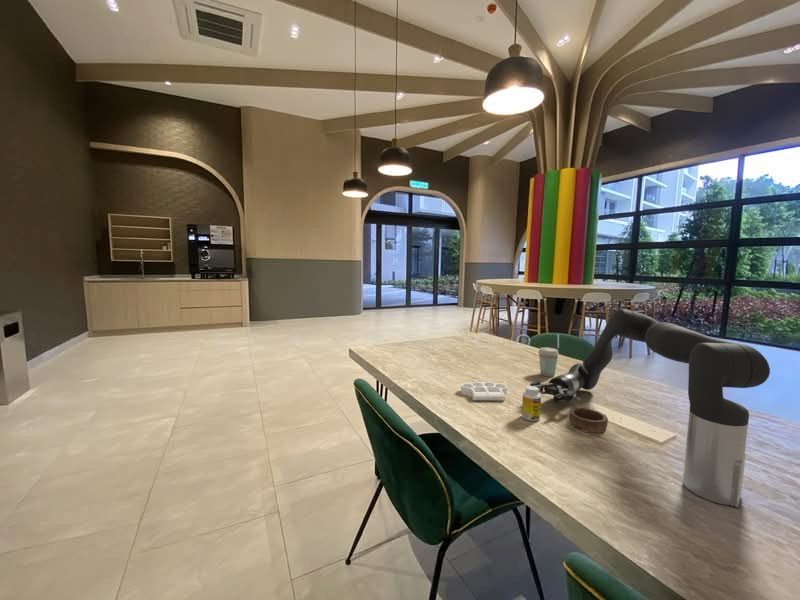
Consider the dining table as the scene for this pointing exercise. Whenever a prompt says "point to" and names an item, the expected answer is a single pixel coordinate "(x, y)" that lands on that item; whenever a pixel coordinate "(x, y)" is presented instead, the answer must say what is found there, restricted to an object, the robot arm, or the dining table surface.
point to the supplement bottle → (531, 403)
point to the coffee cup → (548, 361)
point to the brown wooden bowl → (588, 420)
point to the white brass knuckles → (485, 391)
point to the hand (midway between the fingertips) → (541, 395)
